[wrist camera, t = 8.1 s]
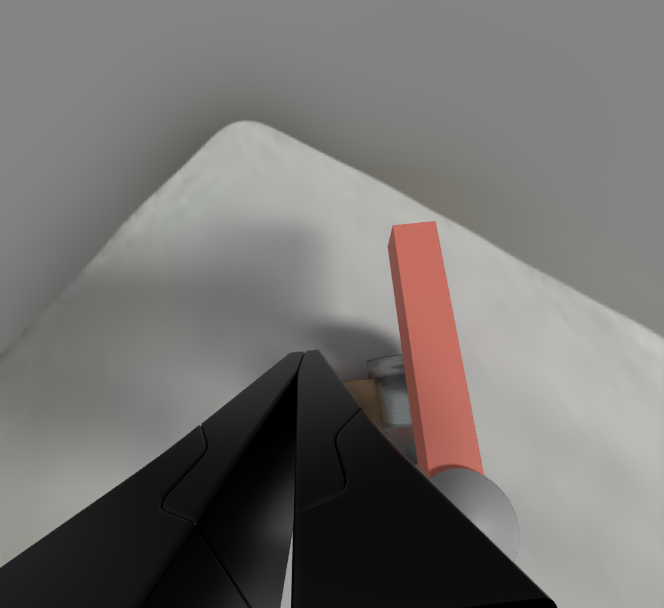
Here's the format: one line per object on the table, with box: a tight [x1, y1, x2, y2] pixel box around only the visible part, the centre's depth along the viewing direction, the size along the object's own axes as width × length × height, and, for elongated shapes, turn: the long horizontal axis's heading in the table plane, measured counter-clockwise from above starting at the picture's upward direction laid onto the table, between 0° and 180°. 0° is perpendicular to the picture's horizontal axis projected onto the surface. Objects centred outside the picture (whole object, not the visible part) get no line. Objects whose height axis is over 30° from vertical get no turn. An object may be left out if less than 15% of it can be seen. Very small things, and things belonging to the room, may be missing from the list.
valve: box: [343, 354, 418, 465], centre depth 16 cm, size 12×9×7 cm
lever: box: [388, 221, 520, 562], centre depth 12 cm, size 3×13×2 cm, turn 4°
